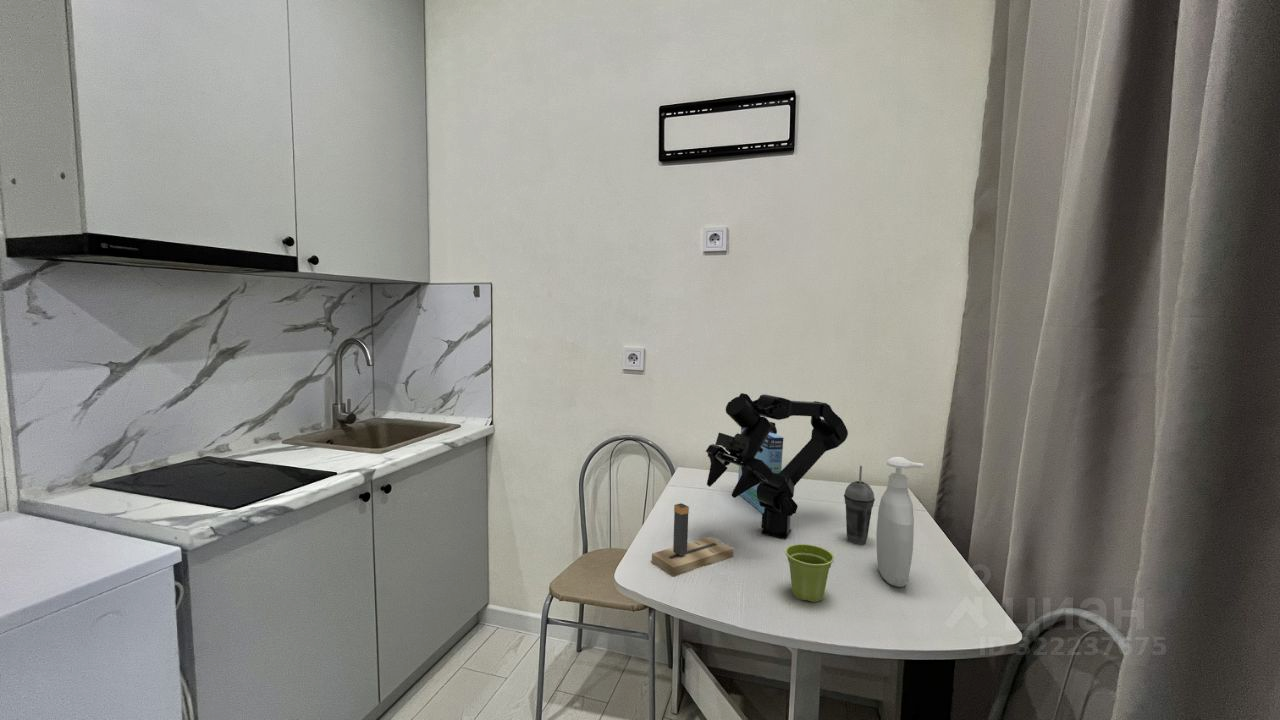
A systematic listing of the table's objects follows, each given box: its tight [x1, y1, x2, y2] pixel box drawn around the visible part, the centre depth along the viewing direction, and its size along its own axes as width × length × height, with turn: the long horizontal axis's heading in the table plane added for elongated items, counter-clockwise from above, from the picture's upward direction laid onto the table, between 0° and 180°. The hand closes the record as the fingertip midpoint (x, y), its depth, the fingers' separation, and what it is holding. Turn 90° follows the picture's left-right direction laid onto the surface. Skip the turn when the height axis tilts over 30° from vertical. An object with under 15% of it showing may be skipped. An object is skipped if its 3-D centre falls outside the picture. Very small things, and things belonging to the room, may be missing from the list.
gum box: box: [737, 427, 785, 514], centre depth 158 cm, size 20×5×23 cm, turn 13°
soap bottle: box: [875, 456, 925, 588], centre depth 113 cm, size 14×8×27 cm, turn 169°
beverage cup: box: [843, 465, 876, 546], centre depth 132 cm, size 7×7×20 cm
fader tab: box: [672, 502, 690, 556], centre depth 118 cm, size 2×3×11 cm
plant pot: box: [784, 543, 835, 603], centre depth 106 cm, size 9×9×9 cm
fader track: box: [651, 536, 734, 577], centre depth 120 cm, size 18×8×2 cm, turn 125°
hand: (720, 491), depth 126 cm, fingers open, 9 cm apart
